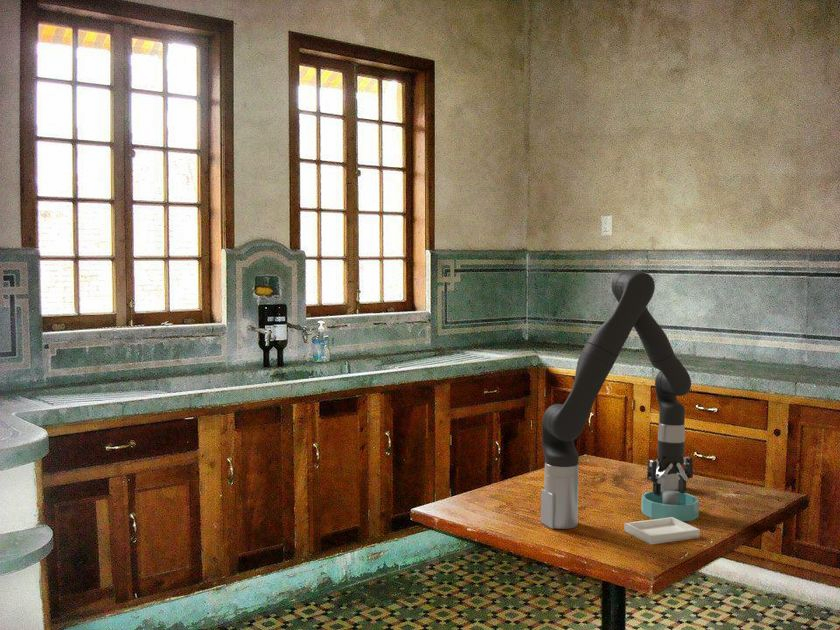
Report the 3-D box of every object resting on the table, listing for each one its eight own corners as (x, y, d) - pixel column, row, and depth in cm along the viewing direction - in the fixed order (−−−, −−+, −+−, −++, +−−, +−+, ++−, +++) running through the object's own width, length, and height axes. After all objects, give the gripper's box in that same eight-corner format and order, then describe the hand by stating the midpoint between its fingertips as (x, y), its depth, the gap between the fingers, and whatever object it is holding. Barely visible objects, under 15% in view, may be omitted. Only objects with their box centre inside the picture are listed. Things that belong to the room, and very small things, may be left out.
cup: (682, 487, 278) (683, 460, 277) (669, 494, 270) (670, 466, 269) (661, 484, 282) (661, 457, 282) (647, 490, 275) (648, 462, 274)
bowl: (664, 523, 240) (664, 508, 240) (631, 508, 255) (631, 493, 254) (709, 518, 246) (710, 502, 246) (674, 503, 260) (675, 488, 260)
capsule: (668, 513, 247) (668, 496, 247) (659, 509, 251) (659, 492, 251) (681, 511, 249) (681, 494, 249) (671, 507, 253) (671, 490, 253)
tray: (650, 544, 223) (650, 536, 223) (624, 531, 234) (624, 523, 234) (699, 537, 229) (699, 529, 229) (671, 524, 240) (672, 517, 239)
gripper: (658, 443, 243) (657, 499, 244) (700, 439, 248) (698, 495, 249) (642, 437, 250) (641, 493, 251) (683, 434, 255) (681, 488, 256)
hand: (669, 494), depth 250 cm, fingers open, 8 cm apart
